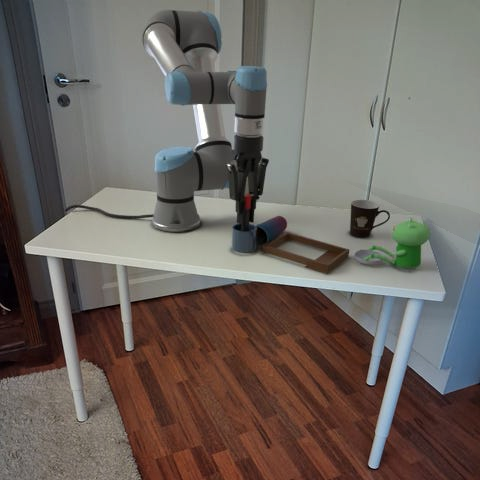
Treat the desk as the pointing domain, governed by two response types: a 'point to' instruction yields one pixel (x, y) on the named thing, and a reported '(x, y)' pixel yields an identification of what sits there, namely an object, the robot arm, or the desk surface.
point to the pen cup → (244, 239)
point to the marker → (247, 212)
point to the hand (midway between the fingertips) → (245, 222)
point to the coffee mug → (364, 217)
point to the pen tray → (321, 264)
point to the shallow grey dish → (365, 253)
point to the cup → (271, 229)
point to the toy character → (405, 244)
